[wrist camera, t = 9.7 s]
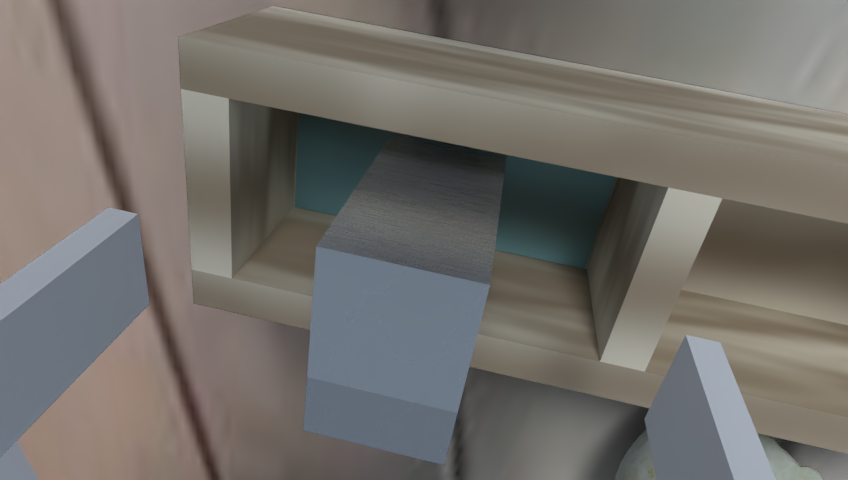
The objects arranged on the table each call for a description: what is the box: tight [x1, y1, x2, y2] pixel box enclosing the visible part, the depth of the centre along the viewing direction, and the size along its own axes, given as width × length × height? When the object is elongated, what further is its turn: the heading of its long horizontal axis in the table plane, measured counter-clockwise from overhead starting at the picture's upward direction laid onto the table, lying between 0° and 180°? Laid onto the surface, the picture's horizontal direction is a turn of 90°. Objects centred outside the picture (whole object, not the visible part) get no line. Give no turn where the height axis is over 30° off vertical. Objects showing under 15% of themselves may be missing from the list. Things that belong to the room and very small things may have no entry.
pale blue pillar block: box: [303, 132, 507, 465], centre depth 19 cm, size 6×4×11 cm, turn 171°
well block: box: [178, 6, 848, 454], centre depth 21 cm, size 10×30×7 cm, turn 81°
